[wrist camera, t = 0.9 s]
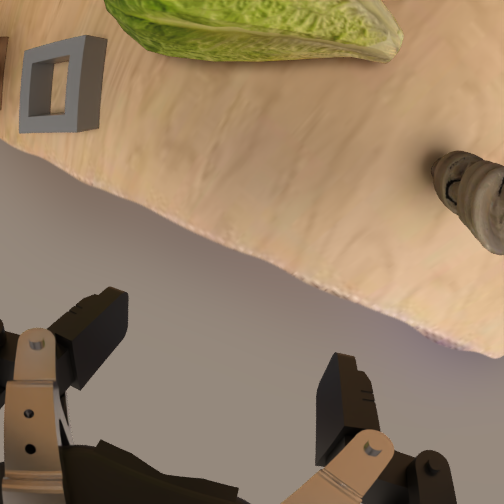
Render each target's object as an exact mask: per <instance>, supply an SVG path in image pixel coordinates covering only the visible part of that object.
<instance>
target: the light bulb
mask: <svg viewBox="0 0 504 504" xmlns="http://www.w3.org/2000/svg"><path fill="white" fill-rule="evenodd" d="M431 173H432V176H433V179H434V187H435V191H436V193H437V195H438V197H439V199H440V200H441V201H442V202H443V204H444V205H445V206H446V207H447V208H448V209H449V210H451V211H452V212H453V213H455V214H457V215H458V216H459V219H460V220H461V221H462V222H463V224H464V225H466V226H467V227H468V229H469V230H470V231H471V233H472V234H473V235H474V237H475V238H476V239H477V240H478V241H480V243H481V244H482V246H483V247H484V248H486V249H487V250H488V251H490V252H491V253H493V254H497V255H504V166H502V165H500V164H497V163H493V162H490V161H485V160H483V159H482V158H480V157H478V156H476V155H474V154H471V153H468V152H464V151H453V152H450V153H448V154H446V155H445V156H443V157H442V158H439V159H438V160H437V161H436V162H435V163H434V165H433V166H432V168H431Z"/></svg>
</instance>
